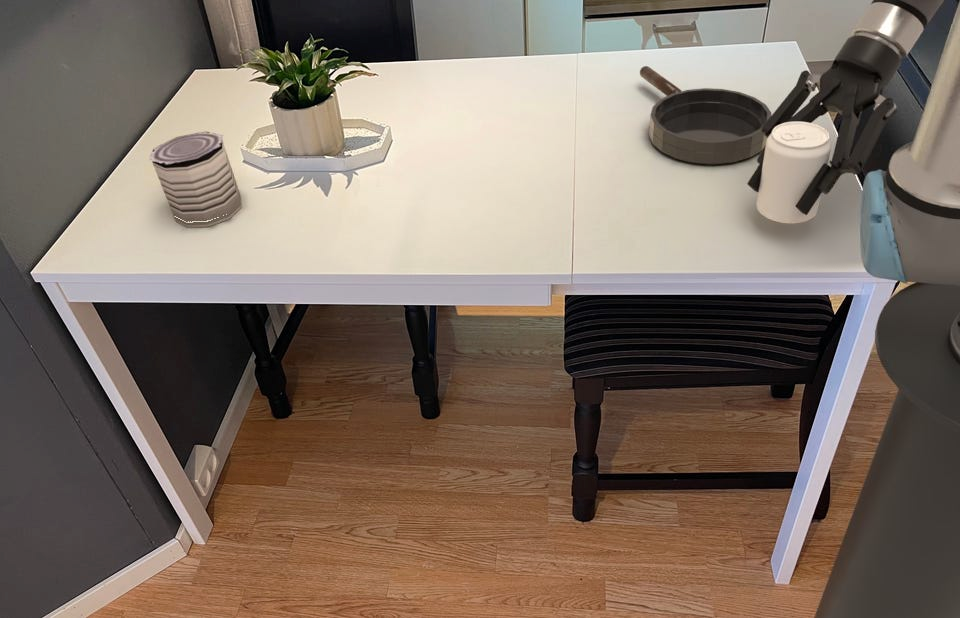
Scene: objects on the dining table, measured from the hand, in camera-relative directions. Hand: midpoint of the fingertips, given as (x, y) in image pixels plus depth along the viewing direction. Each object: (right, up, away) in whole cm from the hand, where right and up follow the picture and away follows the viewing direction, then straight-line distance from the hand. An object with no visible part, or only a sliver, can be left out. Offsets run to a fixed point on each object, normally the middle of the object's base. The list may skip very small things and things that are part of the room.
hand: (776, 199), depth 107 cm
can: (-85, +1, +24) cm, 88 cm away
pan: (-1, +14, +28) cm, 31 cm away
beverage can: (+3, -1, +4) cm, 5 cm away
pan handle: (-7, +26, +38) cm, 46 cm away
